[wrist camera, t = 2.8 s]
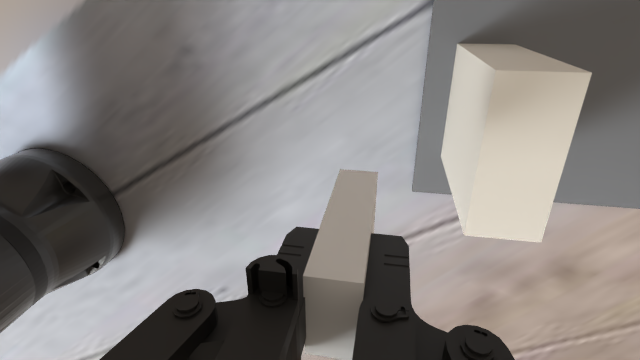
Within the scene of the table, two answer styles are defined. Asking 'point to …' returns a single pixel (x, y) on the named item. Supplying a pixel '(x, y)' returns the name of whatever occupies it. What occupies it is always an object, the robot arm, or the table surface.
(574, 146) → the mat
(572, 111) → the tall block
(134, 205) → the table surface
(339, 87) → the table surface
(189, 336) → the robot arm
